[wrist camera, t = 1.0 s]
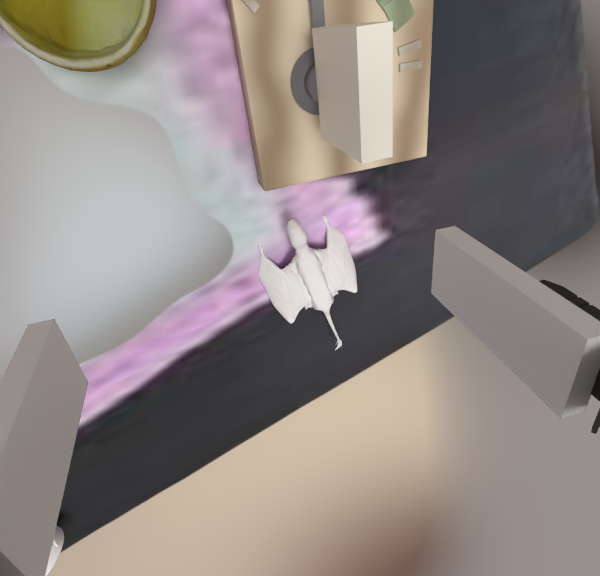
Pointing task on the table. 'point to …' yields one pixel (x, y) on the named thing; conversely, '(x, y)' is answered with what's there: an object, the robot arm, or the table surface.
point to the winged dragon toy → (309, 274)
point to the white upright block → (349, 84)
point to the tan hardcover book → (306, 127)
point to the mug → (79, 30)
